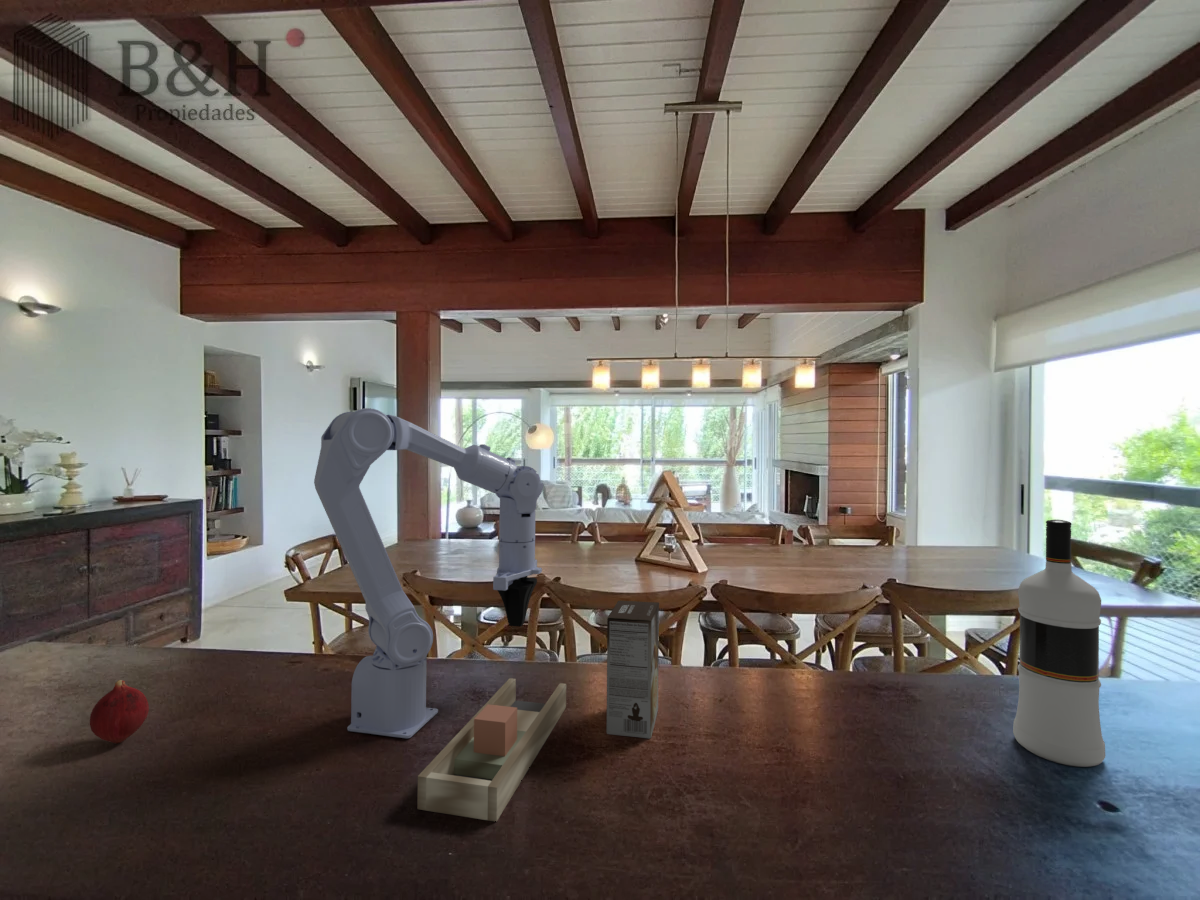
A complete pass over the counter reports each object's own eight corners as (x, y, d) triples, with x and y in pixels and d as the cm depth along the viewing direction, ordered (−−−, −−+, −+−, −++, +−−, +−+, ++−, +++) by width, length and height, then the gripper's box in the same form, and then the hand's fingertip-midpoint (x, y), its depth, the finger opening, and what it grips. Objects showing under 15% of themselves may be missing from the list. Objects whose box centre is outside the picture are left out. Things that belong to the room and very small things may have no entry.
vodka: (996, 737, 75) (997, 516, 76) (1045, 728, 78) (1046, 515, 78) (1071, 775, 67) (1072, 525, 67) (1124, 764, 69) (1125, 523, 69)
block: (473, 752, 67) (474, 718, 67) (487, 735, 71) (487, 704, 71) (505, 756, 66) (505, 722, 66) (516, 739, 70) (517, 707, 70)
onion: (157, 737, 73) (158, 676, 73) (104, 759, 68) (105, 693, 68) (133, 728, 76) (134, 669, 76) (79, 748, 71) (80, 685, 71)
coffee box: (616, 705, 84) (617, 598, 84) (659, 709, 83) (660, 601, 83) (605, 735, 75) (606, 616, 75) (652, 740, 74) (653, 619, 74)
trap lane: (417, 809, 59) (417, 776, 59) (509, 701, 85) (509, 678, 85) (496, 821, 57) (496, 787, 57) (566, 707, 83) (566, 683, 83)
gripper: (525, 548, 81) (524, 641, 81) (554, 534, 95) (553, 613, 95) (480, 546, 83) (479, 637, 83) (515, 533, 97) (514, 611, 97)
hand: (516, 624), depth 89 cm, fingers closed
